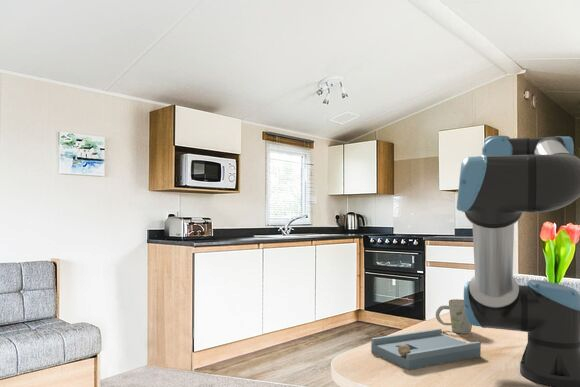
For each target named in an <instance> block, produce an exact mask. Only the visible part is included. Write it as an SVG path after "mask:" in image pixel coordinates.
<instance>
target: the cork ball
mask: <svg viewBox="0 0 580 387" xmlns="http://www.w3.org/2000/svg"><path fill="white" fill-rule="evenodd" d="M398 352H399V354H400V355H401V356H403V357H406V353H410V352H411V350H410V347H409V346H408V345H406V344H401V345H400V346H399V348H398Z"/></svg>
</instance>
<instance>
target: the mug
mask: <svg viewBox="0 0 580 387" xmlns="http://www.w3.org/2000/svg"><path fill="white" fill-rule="evenodd" d="M442 310H449V315H450V316H449V317H450V322H444V321H443V320H442V319H441V316H440V315H441V314H440V313H441V312H442ZM435 319H436V321H437V322H438V323H440V324H441V325H443V326H451V331H452V332H454V333H457V334H461V335H462V334H463V335H465V334H467V335H469V334H471V333H472V329H473V327H472V326H473V325H471V324H470V323H469V322H468V320H467V318H466V314H465V305H464V299H458V298H457V299H455V298H454V299H449V300H448V305H439V307H438V308H437V309H436V311H435Z"/></svg>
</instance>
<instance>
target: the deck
mask: <svg viewBox="0 0 580 387" xmlns="http://www.w3.org/2000/svg"><path fill="white" fill-rule="evenodd" d="M442 330H443V329H442V328H435V329H426V330H420V331H419V330H418V331H414V332H413V331H412V332H405V333H399V334H392V335H385V336H377V337H372V338H371V342H370V344H371V345H370V346H371V351H370V352H371V353H372V354H373V355H374V354H375V355H376V356H379V357H381V358H382V359H385V360H387V361H389V362H391V363H392V364H395V365H398V366H400V367H402V368H404V369H406V370H407V371H412V370H417V369H418V370H419V369H423V368H427V367H433V366H437V365H443V364H450V363H453V362H458V361H459V362H460V361H465V360H470V359H476V358H480V357H481V355H482V354H481V353H482V352H481V348H482V347H481V345H482V344H481V343H482V342H480V341H472V342H466V341H462V340H459V339H457V338H454V337H451V336H448V335H445V334H443V333H442ZM401 344H406V345H408V346H409V347H410V349H411V352H410V353H406V357H403V356H401V355H400V354H399V352H398V348H399V346H400V345H401Z"/></svg>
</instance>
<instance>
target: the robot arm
mask: <svg viewBox="0 0 580 387" xmlns="http://www.w3.org/2000/svg"><path fill="white" fill-rule="evenodd" d="M574 146H575V145H574V140H573V137H571V136H560V135H556V136H546V137H545V136H543V137H516V138H515V137H513V138H512V137H510V136H509V135H492V136H491V135H490V136H486V137H485V138H484V140H483V146H482V149H481V155H480V156H479V155H478V156H468V157H465V158H464V159H462V162H461V165H460V172H459V183H458V191H457V201H456V210H458V211H459V212H460V211H461V212H462V213H464V214H465V217H466V219H467V221H469V222H470V223H471V224H472V242H473V260H474V261H473V262H474V264H473V265H474V275H473V277H472V278H471V280H470V281H466V282H465V283H464V287H463V300H464V305H465V314H466V318H467V320H468V322H469V323H470V324H471V325H472V326H475V327H480V328H483V329H487V328H488V329H494V330H506V331H515V332H516V331H517V332H523V333H524V332H525V333H527V343H526V346H525V349H524V352H523V355H522V356H521V360H520V362H519V372H520V374H521V375H522V376H523V377H525V379H528V380H530V381H532V382H536V383H538V384H543V385H545V386H550V387H580V293H579V291H578V290H576V288H575V289H574V288H573V287H571V286H568V285H564V284H560V283H556V282H552V281H547V280H546V281H545V280H540V279H539V280H538V279H529V280H528V282H527V283H526V285H521V284H518V282H517V280H516V279H515V278H514V276H513V275H514V273H513V271H514V242H515V241H514V237H515V236H514V235H515V234H514V233H515V224H516V223H517V222H518V221H520V219H521V217H522V216H523V213H547V212H552V211H556V210H559V209H561V208H564V207H567V206H568V205H570V204H573V203H574V202H575V201H576V200H577V199H579V198H580V157H579V156H576V155H575V154H574Z"/></svg>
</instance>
